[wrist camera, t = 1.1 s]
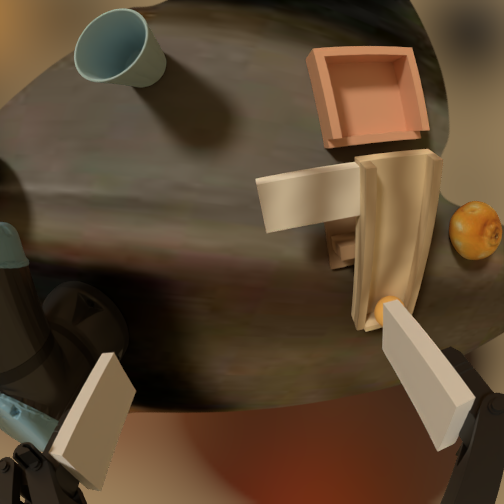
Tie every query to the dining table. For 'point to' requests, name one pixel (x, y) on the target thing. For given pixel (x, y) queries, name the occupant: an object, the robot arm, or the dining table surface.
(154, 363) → the dining table surface
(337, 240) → the fulcrum
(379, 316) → the ball
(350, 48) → the dish
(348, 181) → the lever
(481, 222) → the fruit
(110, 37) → the cup
